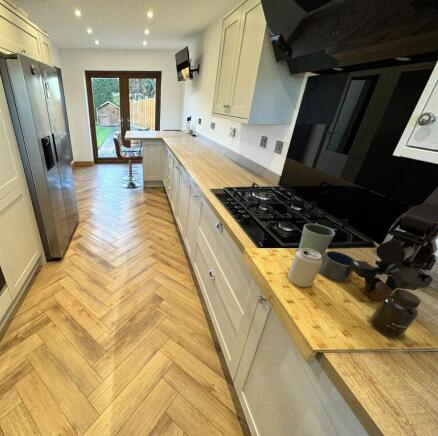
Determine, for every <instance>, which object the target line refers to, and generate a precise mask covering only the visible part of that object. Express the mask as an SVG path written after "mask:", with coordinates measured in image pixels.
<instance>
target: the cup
mask: <svg viewBox="0 0 438 436" xmlns="http://www.w3.org/2000/svg"><path fill="white" fill-rule="evenodd" d="M354 260H355V258H353V257H352V256H350V255H348V254H345V253H343V252H341V251H335V250H328V251H327V250H326V251H325V253H324V255H323V257H322V264H321V266H320V268H319V270H318V272H319V273H320V275H322V276H323V277H325V278H327V279H328V280H331V281H333V282H336V283H337V282H338V283H348V282H349V281H350V279H351V277H352V275H353V273H354V271H353V270H352V269H351V268H350V267H349V265H350V263H351V262H352V261H354Z"/></svg>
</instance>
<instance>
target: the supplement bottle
mask: <svg viewBox="0 0 438 436" xmlns="http://www.w3.org/2000/svg"><path fill="white" fill-rule="evenodd" d="M379 302H380V303H379V304H378V306H377V307H376V308H375V310H374V311H373V313H372V314H371V316H370V318H369V323H370V325H371V326H372V327H373V328H374V329H375V330H376V331H378V332H379V333H381V334H383V335H384V336H387V337H389V338H393V339H399V338H401V337H402V336H403V335H404V334H405V333H406V332H407V330H408V329H410V327H411V326H412V324H413V323H414V322H415V320H416V319H417V318H418V317H419V310H418V307H419V305H420V304H421V302H422V300H421V298H419V297H418V296H417V295H415V294H414V293H412V292H410V291H409V290H406V289H400V288H397V289H395V290H394V291H393V293H392V294H391V296H386V297H384V298H383V300H382V301H379Z"/></svg>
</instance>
